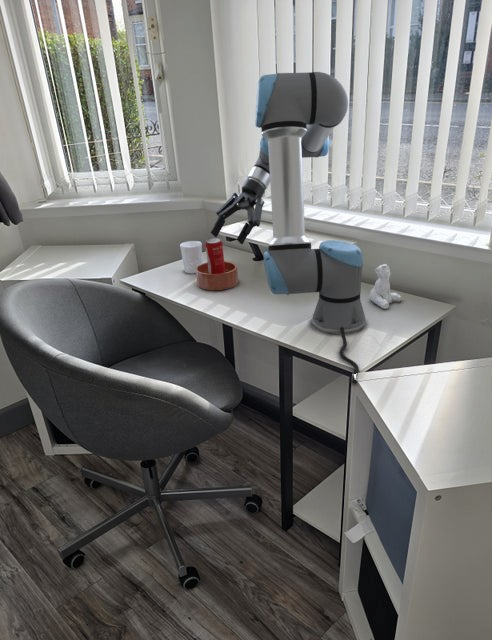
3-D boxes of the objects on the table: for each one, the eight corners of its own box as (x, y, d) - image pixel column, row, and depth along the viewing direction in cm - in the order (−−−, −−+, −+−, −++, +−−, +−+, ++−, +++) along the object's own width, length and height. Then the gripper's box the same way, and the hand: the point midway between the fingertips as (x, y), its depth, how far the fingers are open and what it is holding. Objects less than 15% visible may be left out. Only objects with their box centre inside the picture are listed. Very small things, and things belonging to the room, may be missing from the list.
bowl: (232, 292, 182) (230, 275, 178) (192, 290, 184) (190, 273, 181) (242, 278, 193) (241, 261, 190) (204, 276, 196) (202, 260, 193)
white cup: (179, 273, 200) (176, 246, 194) (188, 266, 206) (185, 240, 201) (199, 274, 198) (196, 247, 192) (207, 268, 204) (204, 241, 199)
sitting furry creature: (385, 310, 164) (388, 272, 158) (362, 303, 169) (364, 266, 163) (402, 301, 170) (406, 263, 164) (379, 294, 175) (382, 258, 169)
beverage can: (227, 279, 191) (224, 236, 183) (224, 285, 186) (221, 242, 178) (211, 279, 192) (207, 236, 184) (207, 285, 186) (203, 242, 178)
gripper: (287, 196, 180) (257, 251, 179) (238, 187, 195) (209, 238, 194) (276, 181, 174) (244, 238, 173) (225, 174, 189) (196, 226, 189)
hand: (226, 238), depth 184 cm, fingers open, 13 cm apart
